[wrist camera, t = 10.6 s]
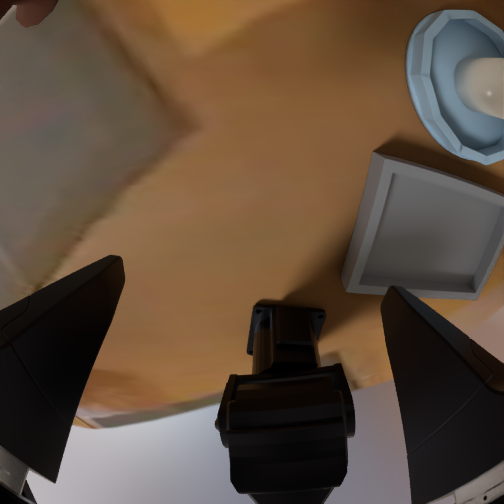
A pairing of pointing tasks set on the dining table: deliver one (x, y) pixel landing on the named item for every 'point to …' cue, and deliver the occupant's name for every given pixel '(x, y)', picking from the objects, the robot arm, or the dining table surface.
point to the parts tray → (423, 232)
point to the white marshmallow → (481, 85)
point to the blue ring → (442, 82)
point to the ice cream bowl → (28, 10)
